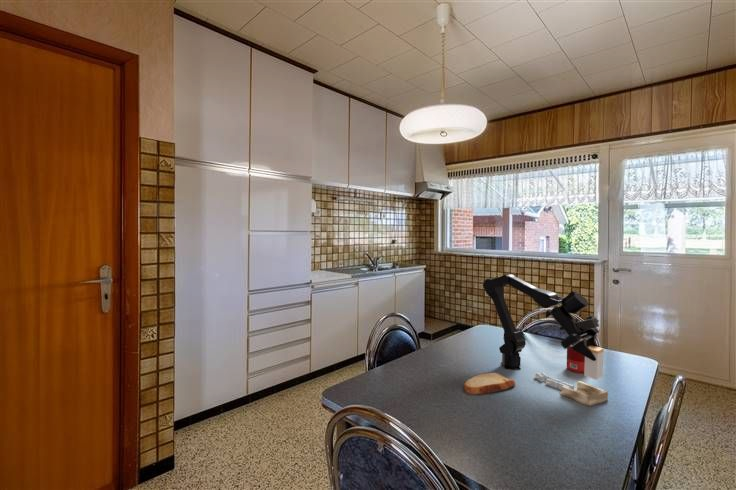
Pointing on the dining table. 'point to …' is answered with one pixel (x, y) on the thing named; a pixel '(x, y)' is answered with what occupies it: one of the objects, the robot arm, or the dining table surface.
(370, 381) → the dining table surface
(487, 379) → the bread slice
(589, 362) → the orange-topped block
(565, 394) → the holder
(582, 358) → the canned food
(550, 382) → the clip
